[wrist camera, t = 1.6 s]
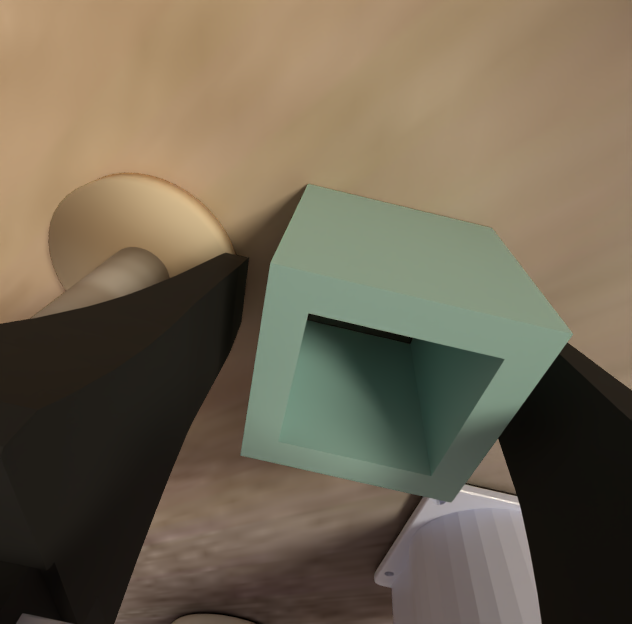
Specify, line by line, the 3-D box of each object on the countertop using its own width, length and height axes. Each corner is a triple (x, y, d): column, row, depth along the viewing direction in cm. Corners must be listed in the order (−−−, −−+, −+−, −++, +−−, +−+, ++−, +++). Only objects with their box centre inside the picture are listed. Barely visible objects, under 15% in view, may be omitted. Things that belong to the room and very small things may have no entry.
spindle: (231, 349, 14) (151, 521, 9) (78, 313, 14) (-96, 466, 9) (247, 198, 11) (138, 324, 6) (51, 151, 11) (-245, 236, 6)
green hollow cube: (424, 367, 14) (451, 502, 9) (279, 333, 13) (240, 455, 9) (492, 227, 11) (573, 334, 6) (307, 183, 11) (270, 262, 6)
